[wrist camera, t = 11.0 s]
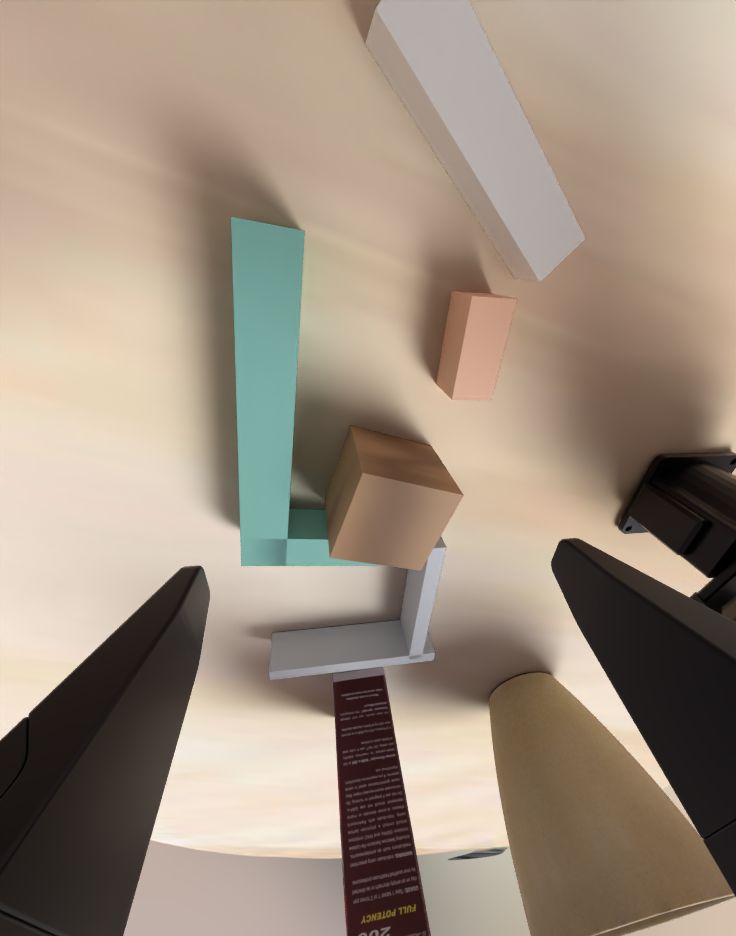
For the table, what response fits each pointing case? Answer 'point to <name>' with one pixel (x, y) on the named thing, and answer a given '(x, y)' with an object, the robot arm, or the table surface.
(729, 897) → the plant pot
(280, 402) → the crook
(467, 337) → the offcut
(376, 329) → the table surface
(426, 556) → the block
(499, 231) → the stick
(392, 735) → the supplement box
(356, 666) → the gray angle bracket
